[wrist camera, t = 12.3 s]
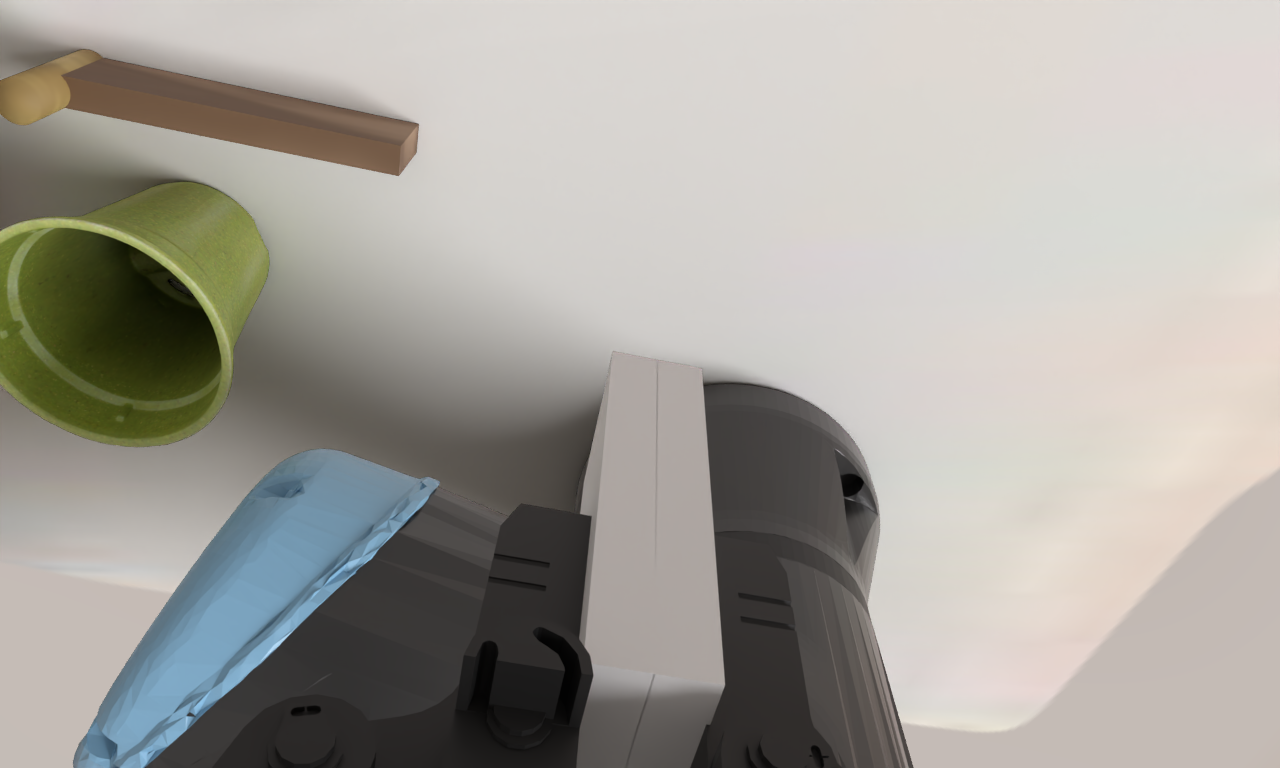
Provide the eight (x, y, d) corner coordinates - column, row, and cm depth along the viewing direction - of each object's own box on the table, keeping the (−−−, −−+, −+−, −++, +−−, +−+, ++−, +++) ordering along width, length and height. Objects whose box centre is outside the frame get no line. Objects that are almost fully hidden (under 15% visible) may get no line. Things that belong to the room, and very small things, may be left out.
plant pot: (269, 373, 44) (189, 485, 36) (68, 281, 42) (-61, 380, 34) (339, 212, 40) (265, 302, 32) (119, 99, 37) (-15, 167, 30)
